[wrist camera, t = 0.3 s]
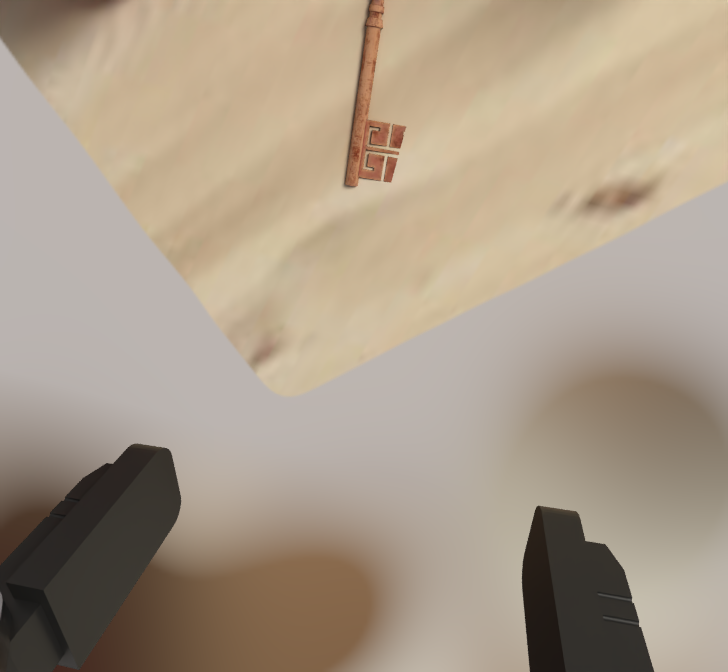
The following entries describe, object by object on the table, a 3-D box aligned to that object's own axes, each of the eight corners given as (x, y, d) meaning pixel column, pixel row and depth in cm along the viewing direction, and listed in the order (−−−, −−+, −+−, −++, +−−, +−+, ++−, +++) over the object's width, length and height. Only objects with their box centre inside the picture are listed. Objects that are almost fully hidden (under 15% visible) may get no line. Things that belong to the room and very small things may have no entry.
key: (406, 193, 35) (457, -77, 28) (407, 195, 34) (460, -82, 28) (323, 178, 34) (356, -96, 28) (321, 180, 34) (355, -102, 27)
